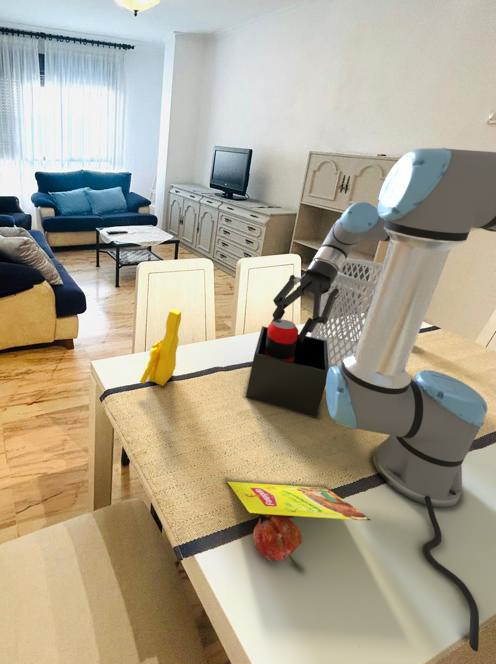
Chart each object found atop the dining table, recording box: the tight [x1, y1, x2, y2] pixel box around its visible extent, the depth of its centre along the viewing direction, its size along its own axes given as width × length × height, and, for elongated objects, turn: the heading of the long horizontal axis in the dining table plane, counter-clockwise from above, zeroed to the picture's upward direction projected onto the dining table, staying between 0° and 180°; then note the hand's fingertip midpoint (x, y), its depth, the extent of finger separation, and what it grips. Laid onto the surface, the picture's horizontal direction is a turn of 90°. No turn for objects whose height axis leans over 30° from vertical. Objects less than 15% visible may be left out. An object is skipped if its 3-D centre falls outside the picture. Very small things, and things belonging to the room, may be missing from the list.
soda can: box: [264, 318, 299, 362], centre depth 104 cm, size 8×8×12 cm
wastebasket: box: [310, 258, 383, 369], centre depth 120 cm, size 25×25×30 cm
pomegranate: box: [252, 513, 303, 568], centre depth 64 cm, size 7×7×10 cm
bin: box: [245, 325, 329, 418], centre depth 105 cm, size 18×18×14 cm
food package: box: [226, 481, 373, 522], centre depth 70 cm, size 15×1×20 cm
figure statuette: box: [139, 308, 182, 387], centre depth 105 cm, size 18×8×22 cm, turn 150°
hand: (285, 334), depth 104 cm, fingers closed on soda can, 7 cm apart
